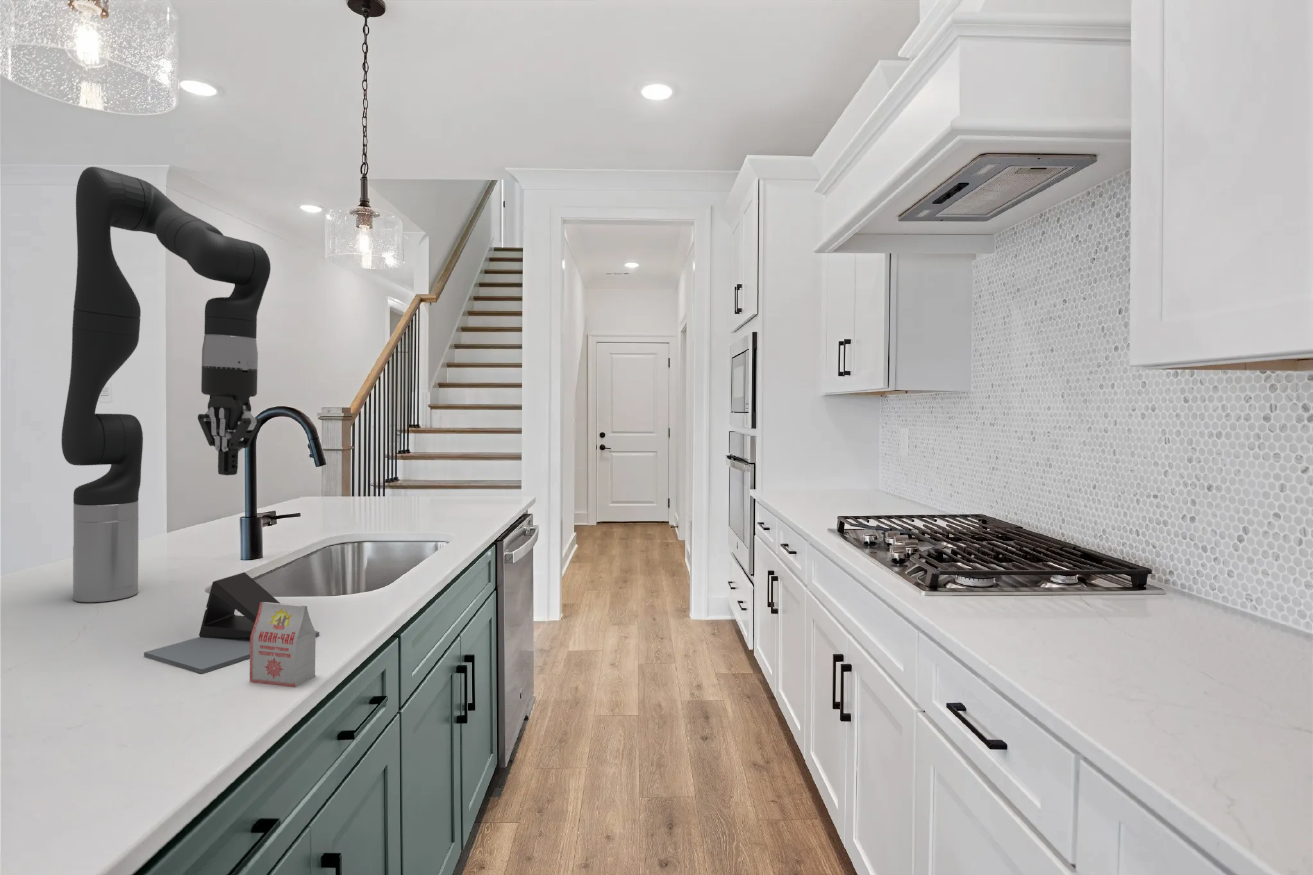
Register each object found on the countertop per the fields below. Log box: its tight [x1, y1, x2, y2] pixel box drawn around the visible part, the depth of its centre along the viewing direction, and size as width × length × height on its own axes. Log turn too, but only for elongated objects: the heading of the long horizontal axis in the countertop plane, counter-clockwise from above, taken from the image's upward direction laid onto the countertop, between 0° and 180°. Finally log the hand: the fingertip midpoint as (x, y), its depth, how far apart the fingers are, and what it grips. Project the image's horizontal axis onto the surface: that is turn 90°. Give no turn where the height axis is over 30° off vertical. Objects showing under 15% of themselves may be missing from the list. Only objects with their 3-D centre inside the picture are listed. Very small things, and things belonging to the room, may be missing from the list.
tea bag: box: [249, 602, 317, 688], centre depth 90 cm, size 4×7×10 cm, turn 79°
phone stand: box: [198, 572, 282, 638], centre depth 105 cm, size 9×6×12 cm
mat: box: [143, 630, 320, 675], centre depth 102 cm, size 13×18×1 cm
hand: (227, 474), depth 110 cm, fingers closed
